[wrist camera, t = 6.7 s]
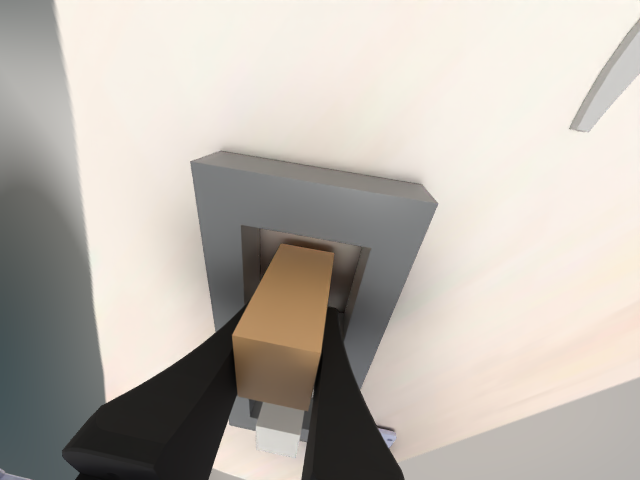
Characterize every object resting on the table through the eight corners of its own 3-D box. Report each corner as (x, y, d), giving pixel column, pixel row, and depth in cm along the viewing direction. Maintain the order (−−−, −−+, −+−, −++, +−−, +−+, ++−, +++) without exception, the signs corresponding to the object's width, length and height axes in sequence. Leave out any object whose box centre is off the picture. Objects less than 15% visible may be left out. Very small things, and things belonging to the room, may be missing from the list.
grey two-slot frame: (337, 416, 23) (335, 448, 21) (240, 396, 24) (229, 425, 22) (422, 184, 11) (438, 203, 9) (220, 150, 12) (190, 161, 9)
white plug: (307, 388, 22) (295, 458, 17) (275, 381, 22) (256, 449, 17) (312, 362, 20) (300, 435, 15) (277, 355, 20) (255, 425, 15)
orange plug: (324, 304, 15) (307, 411, 10) (278, 296, 15) (237, 396, 10) (334, 252, 13) (320, 352, 8) (280, 243, 13) (232, 335, 8)
